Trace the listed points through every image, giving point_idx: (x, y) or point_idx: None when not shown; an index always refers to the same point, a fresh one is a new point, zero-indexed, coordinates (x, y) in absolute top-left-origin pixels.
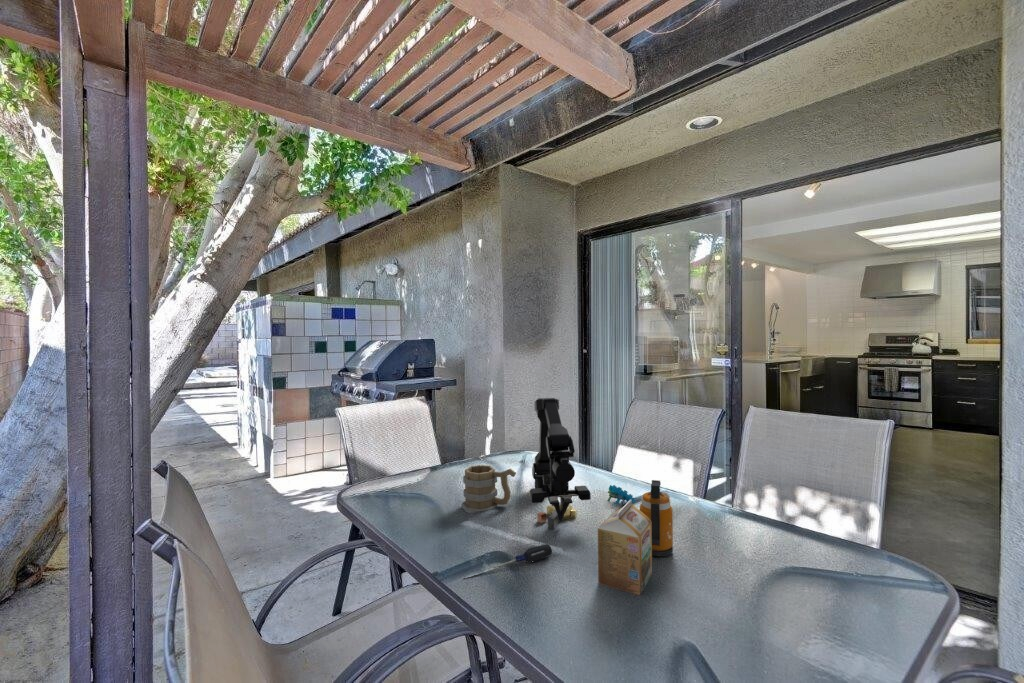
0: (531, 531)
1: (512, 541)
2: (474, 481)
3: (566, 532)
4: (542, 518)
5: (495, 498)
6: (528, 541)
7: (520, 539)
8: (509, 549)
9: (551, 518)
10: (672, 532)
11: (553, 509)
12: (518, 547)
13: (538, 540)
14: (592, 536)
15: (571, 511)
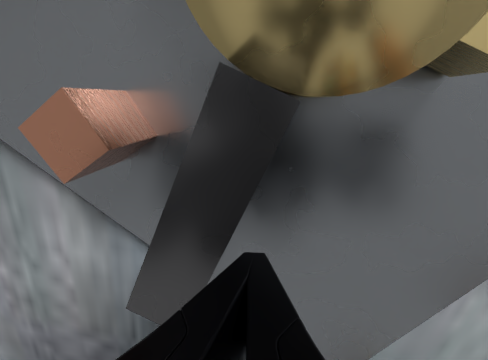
0: (79, 209)
1: (8, 299)
2: None
3: None
4: (103, 165)
5: None
6: (81, 312)
7: (39, 288)
8: (16, 357)
9: (159, 318)
10: None
11: (199, 21)
12: (47, 350)
13: (127, 312)
14: (455, 327)
15: (456, 44)
